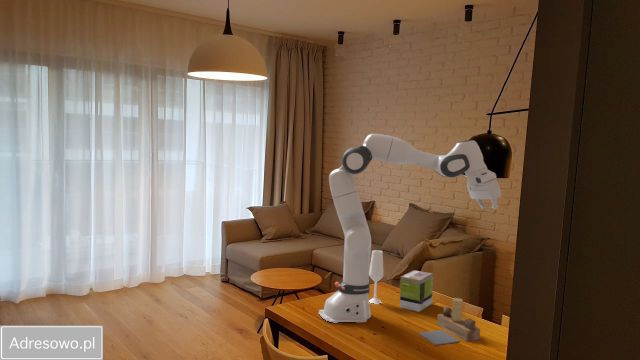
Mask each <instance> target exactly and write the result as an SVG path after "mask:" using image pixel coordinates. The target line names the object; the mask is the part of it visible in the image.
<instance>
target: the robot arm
mask: <svg viewBox="0 0 640 360" xmlns="http://www.w3.org/2000/svg"><path fill="white" fill-rule="evenodd" d="M341 158H342V159H341V166H340V167H338V168H335V169H333V170H332V171H331V172H330V173H329V176H328V183H329V190H330V194H331V196H332V197H331V198H332V201H333V205H334V208H335V211H336V214H337V217H338V219H339V222H340V225H341V229H342V231H343V232H342V233H343V235H344V243H343V246H344V247H343V248H344V250H343V271H342V273H343V274H342V275H343V276H342V281H341V282H339V281H335V282H334V286H335V287H336V288H338V290H336V292H334V293H333V294H332V295H331V296H329V297H328V298H327V299H326V300H325V302H324V306H323V309H319V310H318V315H319V314H320V316H321V317H322V318H323V319H325V320H326V321H325V320H324V321H325V322H327V321H329V322H333V323H332V324H339V323H338V322H356V323H366V322H367V321H368V320H369V319H370V318H371V317H372V313H371V309H370V303H369V300H370V297H369V296H370V290H371V288H370V287H371V284H370V276H369V271H370V263H371V255H372V236H371V231H370V227H369V225H368V222H367V221H368V220H367V218H366V214H365V211H364V209H363V205H362V201H361V197H360V195H359V192H358V188H357V185H356V181H355V179H356V175H358V174H361V173H363V172H364V171H365V170H366V169H367V168H368V166H369V164H370V163H371V161H373V160H374V161H380V162H381V161H382V162H384V163H388V164H393V165H401V166H402V165H416V166H420V167H423V168H427V169H430V170H433V171H434V172H435V173H437V174H438V175H439V176H441V177H443V178H450V179H453V178H457V177H459V176H460V175H462V174H465V177H466V180H467V183H466V189H467V191H468V195H469V198H470V199H471V200H475V201H476V202H477V203H478V205H479V206H480V209H482V210H484V209H486V208H487V205H486V203H485V202H484V200H490V202H491V208H492V210H498V209H499V206H498V199H499V198H501V197H502V191H501V188H500V184H499V181H498V180H497V174H496V173H495V172H493V171H491V170H489V169H488V167H487V165H486V163H485V161H484V155H483V153H482V150H481V149H480V146H479V144H478V142H477V141H475V140H473V139H466V140H461V141H458V142H456V143H455V145H454V146H453V148H452V149H451V150H450V151H449V152H448V153H444V154H434V153H429V152H428V151H427V152H426V151H422V150H419V149H418V148H415V147H414V146H413V145H412V144H410V142H408V141H406V140H404V139H402V138H399V137H396V136H392V135H386V134H382V133H369V134H367V136H366V137H365V139H364V140H363V144H362V145H358V146H353V147H350V148H347V150H345V151H344V153H343V155H342V157H341ZM320 316H319V317H320ZM321 317H320V318H321ZM322 318H321V319H322ZM323 319H322V320H323ZM329 322H328V323H329Z"/></svg>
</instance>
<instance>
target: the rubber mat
mask: <svg viewBox="0 0 640 360" xmlns="http://www.w3.org/2000/svg"><path fill="white" fill-rule="evenodd" d="M418 335H419V336H421V337H422V338H424V339H425V340H427V341H428V342H430V343H431V344H433V345H434V346H441V345H442V346H443V345H449V344H456V343H460V342H461V340H459V339H457V338H456V337H454V336H453V335H452V334H450V333H448V332H446V331H445V330H443V329H439V330H431V331H423V332H418Z"/></svg>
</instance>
